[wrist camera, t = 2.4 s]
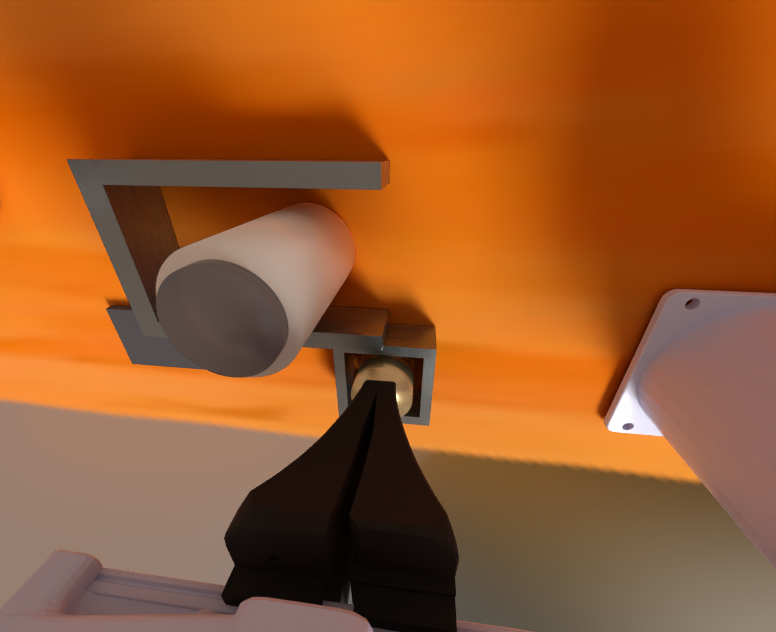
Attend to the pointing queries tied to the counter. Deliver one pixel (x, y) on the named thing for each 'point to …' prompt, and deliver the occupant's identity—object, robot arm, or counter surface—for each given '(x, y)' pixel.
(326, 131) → the counter surface
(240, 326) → the cartridge
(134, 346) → the mat
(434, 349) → the grey bent frame
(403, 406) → the plunger
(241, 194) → the counter surface
